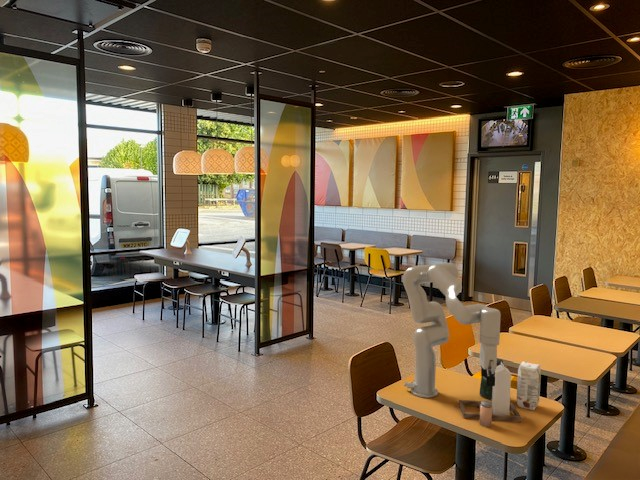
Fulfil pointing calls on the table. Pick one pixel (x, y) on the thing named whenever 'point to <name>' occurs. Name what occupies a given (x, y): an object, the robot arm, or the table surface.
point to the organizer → (494, 416)
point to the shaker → (485, 414)
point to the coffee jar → (484, 389)
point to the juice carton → (528, 385)
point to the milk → (501, 391)
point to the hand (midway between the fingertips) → (487, 380)
